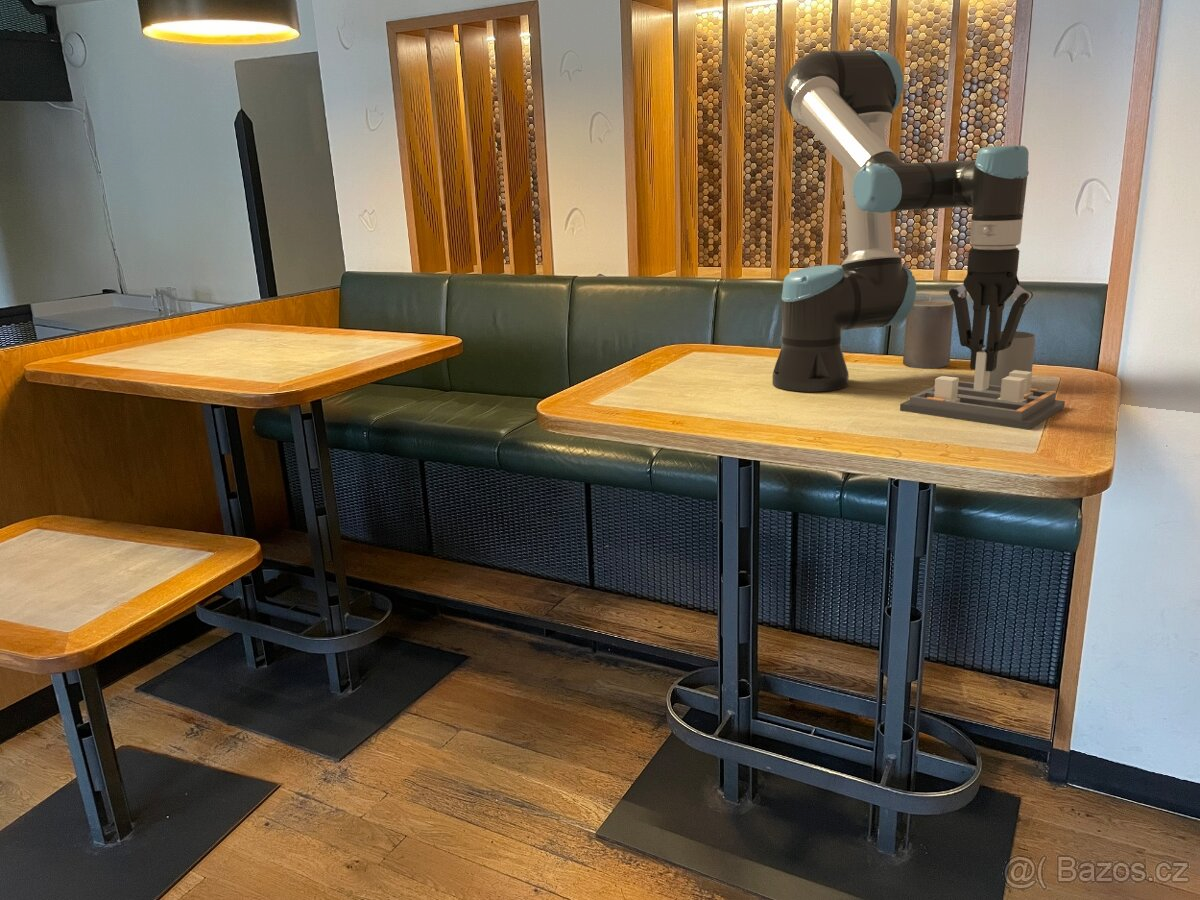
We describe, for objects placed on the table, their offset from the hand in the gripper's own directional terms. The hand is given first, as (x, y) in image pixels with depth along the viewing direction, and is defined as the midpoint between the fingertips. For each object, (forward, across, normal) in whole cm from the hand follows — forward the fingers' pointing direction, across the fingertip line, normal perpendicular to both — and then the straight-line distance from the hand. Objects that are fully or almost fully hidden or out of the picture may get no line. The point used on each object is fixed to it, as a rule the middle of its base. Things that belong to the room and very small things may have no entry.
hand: (980, 388), depth 146 cm
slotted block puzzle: (+5, -2, +5) cm, 8 cm away
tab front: (+4, -6, 0) cm, 7 cm away
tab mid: (+4, +3, +5) cm, 7 cm away
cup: (+5, -5, +25) cm, 26 cm away
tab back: (+4, +3, +11) cm, 12 cm away
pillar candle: (+6, -26, +36) cm, 45 cm away
